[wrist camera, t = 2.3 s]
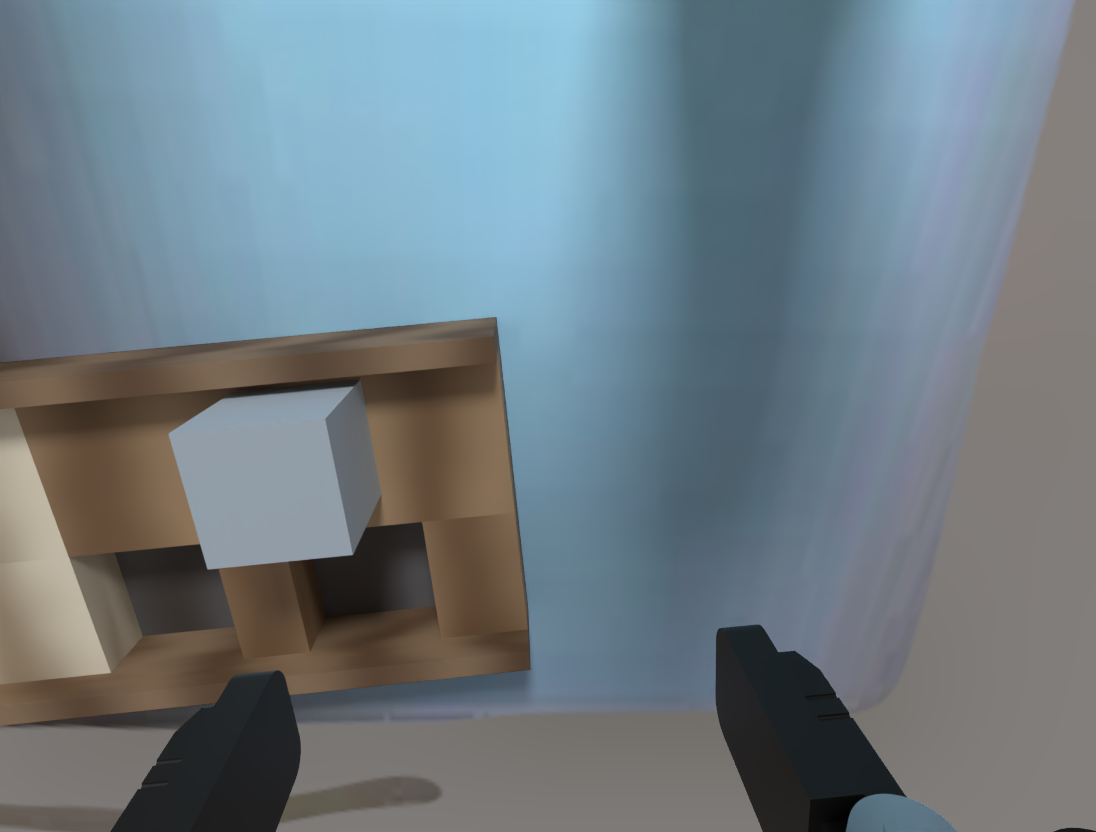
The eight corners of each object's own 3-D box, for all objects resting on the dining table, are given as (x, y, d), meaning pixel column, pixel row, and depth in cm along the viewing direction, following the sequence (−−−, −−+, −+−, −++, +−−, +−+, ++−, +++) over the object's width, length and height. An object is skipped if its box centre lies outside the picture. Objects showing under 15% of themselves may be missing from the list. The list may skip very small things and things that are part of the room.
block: (360, 379, 25) (325, 418, 20) (381, 493, 27) (353, 554, 22) (233, 391, 25) (168, 433, 20) (262, 505, 26) (207, 569, 22)
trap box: (496, 317, 28) (493, 336, 23) (528, 609, 32) (530, 669, 28) (-135, 374, 27) (-257, 405, 23) (-9, 664, 32) (-90, 735, 27)
